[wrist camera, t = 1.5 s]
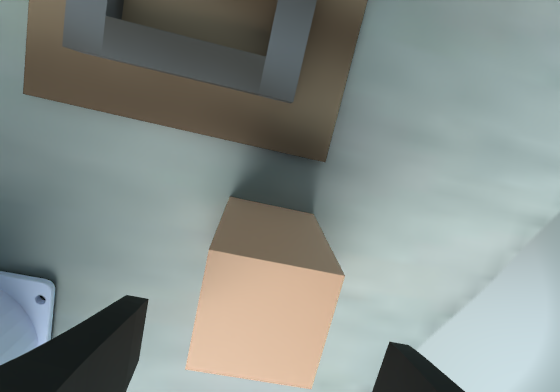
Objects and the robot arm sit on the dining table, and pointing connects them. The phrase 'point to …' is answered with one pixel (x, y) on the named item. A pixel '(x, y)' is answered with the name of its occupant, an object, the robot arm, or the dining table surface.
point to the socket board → (201, 64)
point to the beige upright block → (265, 296)
